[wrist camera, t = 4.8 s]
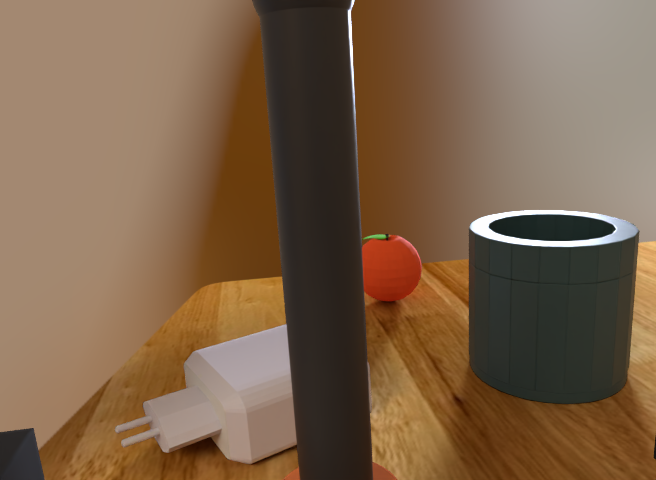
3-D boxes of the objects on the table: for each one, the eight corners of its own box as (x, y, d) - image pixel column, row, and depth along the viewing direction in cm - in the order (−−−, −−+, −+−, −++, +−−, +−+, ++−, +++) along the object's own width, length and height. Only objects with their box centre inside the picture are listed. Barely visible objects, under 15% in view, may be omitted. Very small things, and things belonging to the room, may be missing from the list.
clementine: (335, 303, 59) (331, 237, 57) (369, 283, 64) (366, 223, 62) (403, 316, 54) (401, 245, 52) (433, 294, 59) (432, 229, 58)
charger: (108, 437, 37) (303, 369, 45) (145, 518, 29) (373, 420, 37) (96, 372, 36) (299, 314, 43) (131, 440, 28) (370, 355, 36)
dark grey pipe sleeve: (530, 419, 36) (535, 255, 33) (443, 350, 46) (441, 221, 44) (664, 383, 39) (678, 231, 37) (554, 326, 50) (559, 204, 47)
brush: (306, 739, 19) (224, -107, 13) (274, 619, 23) (202, -50, 17) (433, 687, 20) (417, -98, 14) (380, 583, 25) (350, -48, 18)
